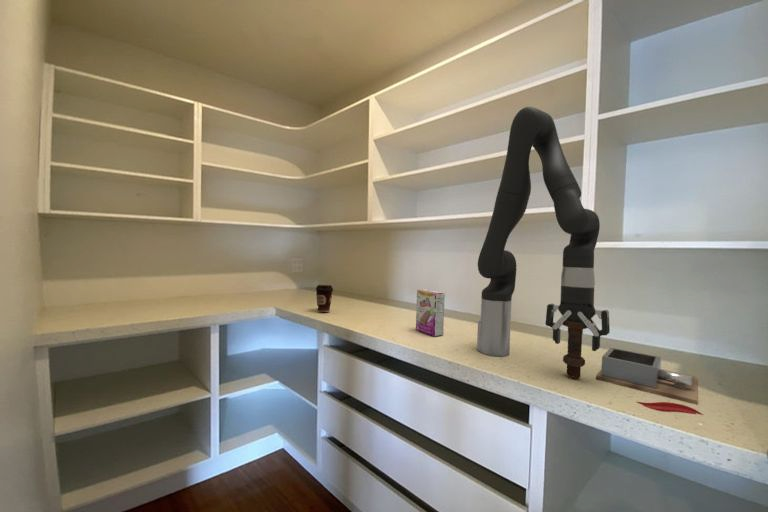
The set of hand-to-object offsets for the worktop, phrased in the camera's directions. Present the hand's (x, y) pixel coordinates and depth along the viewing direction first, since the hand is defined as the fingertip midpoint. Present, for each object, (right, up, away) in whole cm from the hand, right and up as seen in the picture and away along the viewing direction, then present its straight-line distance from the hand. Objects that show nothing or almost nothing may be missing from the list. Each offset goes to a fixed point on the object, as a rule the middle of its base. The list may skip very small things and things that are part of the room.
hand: (575, 346), depth 85 cm
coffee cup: (-81, -4, +79) cm, 113 cm away
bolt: (0, -8, 0) cm, 8 cm away
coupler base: (+19, -9, 0) cm, 21 cm away
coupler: (+19, -8, 0) cm, 20 cm away
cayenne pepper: (+11, -10, -16) cm, 21 cm away
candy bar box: (-32, -7, +42) cm, 53 cm away
